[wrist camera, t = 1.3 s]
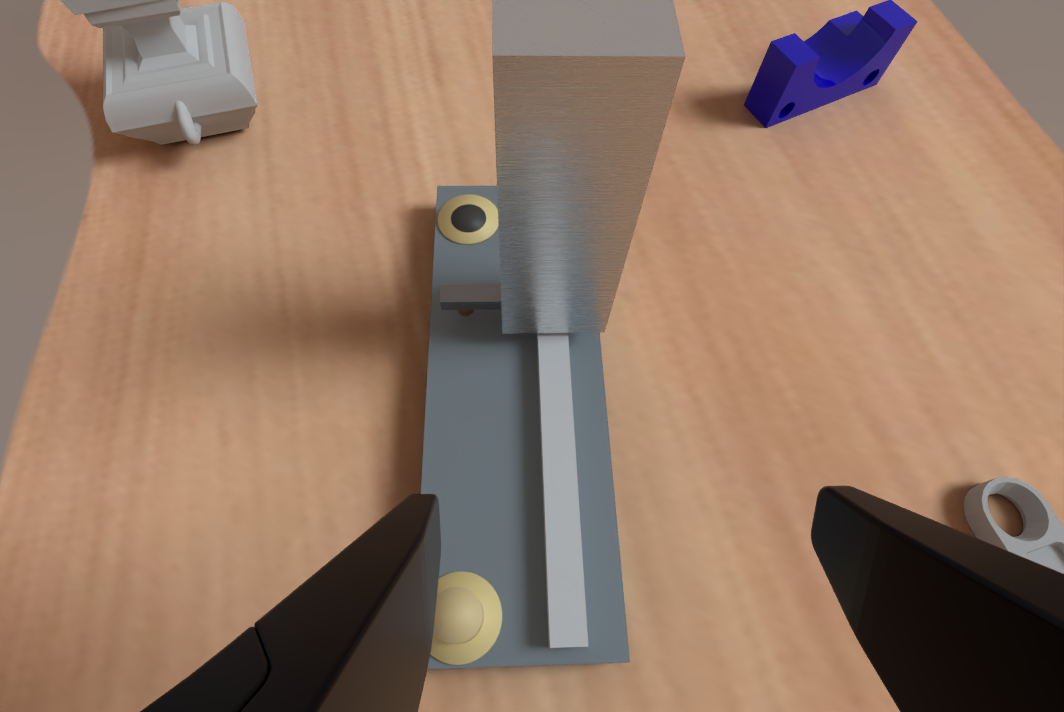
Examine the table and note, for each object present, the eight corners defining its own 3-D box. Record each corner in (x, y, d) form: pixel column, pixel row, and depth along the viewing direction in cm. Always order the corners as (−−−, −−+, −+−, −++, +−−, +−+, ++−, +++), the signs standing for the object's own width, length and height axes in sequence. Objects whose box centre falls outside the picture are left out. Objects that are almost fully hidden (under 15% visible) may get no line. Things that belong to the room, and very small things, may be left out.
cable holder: (834, 50, 35) (871, -17, 32) (874, 87, 34) (917, 21, 30) (727, 90, 33) (753, 23, 30) (764, 130, 32) (796, 66, 28)
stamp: (280, 160, 30) (201, -5, 22) (143, 189, 29) (10, 26, 21) (259, 48, 34) (184, -126, 26) (136, 69, 32) (22, -105, 25)
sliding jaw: (602, 339, 23) (685, 56, 12) (442, 341, 23) (374, 54, 12) (596, 276, 25) (666, -31, 13) (445, 278, 24) (386, -35, 13)
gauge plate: (621, 660, 20) (639, 663, 17) (418, 668, 20) (402, 672, 17) (582, 206, 29) (590, 160, 26) (440, 207, 29) (433, 160, 26)
